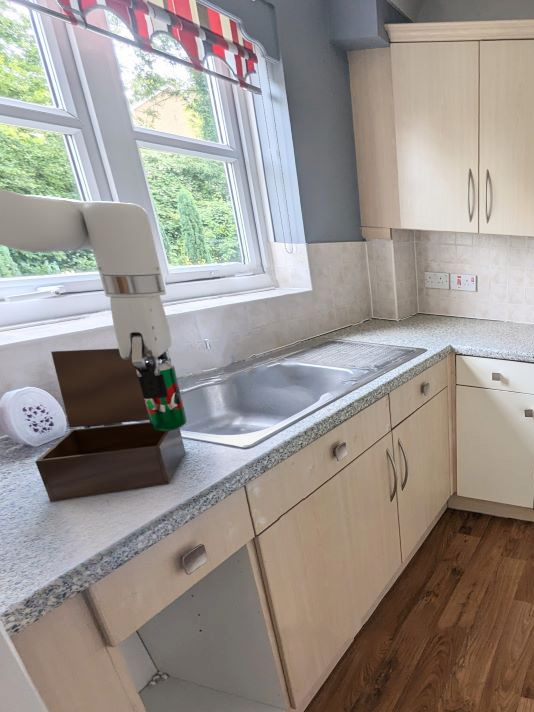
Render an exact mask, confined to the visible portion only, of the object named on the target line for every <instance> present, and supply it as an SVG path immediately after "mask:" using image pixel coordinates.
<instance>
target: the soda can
mask: <svg viewBox="0 0 534 712" xmlns="http://www.w3.org/2000/svg"><path fill="white" fill-rule="evenodd" d="M158 361H159V368H160V374H163V376H164V380H165V384H166V388H167V392H168V396H167V397H165V398H153V399H145V398H144V401H145V405H146V409H147V412H148V416H149V420H148V421H149V422H150V424H151V427H152V428H153V429H154V430H157V431H171V430H176V429H179V428H180V429H181V428H183V427H184V426H185V425H186V424H187V422H188V419H187V415H186V411H185V406H184V402H183V398H182V393H181V390H180V389H181V388H180V386H179V382H178V377H177V373H176V369H175V365H173V363H172V362H171V363H170V360H166V359H158ZM146 362H150V364H152V366H153V363H152V361H146ZM138 379H139V378H138ZM140 386H141V385H140ZM141 390H142V389H141ZM142 394H143V393H142Z"/></svg>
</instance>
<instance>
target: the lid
mask: <svg viewBox="0 0 534 712" xmlns="http://www.w3.org/2000/svg"><path fill="white" fill-rule="evenodd" d="M50 353H51V357H52V361H53V366H54V369H55V370H54V371H55V374H56V377H57V382H58V385H59V390H60V395H61V398H62V402H63V406H64V410H65V411H64V412H65V414H66V418H67V423H68V427H69V429H74V428H84V426H94V425H104V424H114V423H122V424H123V423H124V424H125V423H132V422H134V423H135V422H143V421H144V422H145V421H150V420H149V416H148V412H147V409H146V405H145V401H144V397H143V394H142V390H141V386H140V382H139V379H138V376H137V371H136V368H135V366H134V365H133V363H132V357H131V358H130V359H127V360H125V359H123V358H122V357H121V356H120V352H119V347H116V348H115V347H114V348H93V349H90V348H89V349H73V350H53V351H50ZM145 357H148V356H147V353H145Z"/></svg>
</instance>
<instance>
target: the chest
mask: <svg viewBox="0 0 534 712" xmlns="http://www.w3.org/2000/svg"><path fill="white" fill-rule="evenodd" d="M185 455H186V448H185V445H184V441H183V436H182V432H181V428H179V429H176V430H171V431H157V430H154V429H153V428H152V427H151V424H150V421H144V422H143V421H141V422H134V423H132V422H131V423H124V424H123V423H122V425H112V426H102V427H93V428H84V427H82V428H75V429H74V428H72V429H70V430H69V431H68V432H66V434H65V435H63V436H62V437H61V438H60V439H59V440H58V441H56V442H55V443H54V444H53V445H52V446H51V447H50V448H49V449H48V450H46V451H45V452H44V453H43V454H42V455H41V456H40V457H38V458H37V459H36V460H35V461H34V462H35V465H36V467H37V470H38V472H39V476H40V479H41V481H42V484H43V486H44V489H45V492H46V494H47V497H48V499H49V502H57V501H64V500H71V499H77V498H84V497H85V498H86V497H90V496H91V497H92V496H99V495H104V494H110V493H112V494H113V493H117V492H125V491H131V490H138V489H145V488H152V487H157V486H165V485H169V484H171V481H172V479H173V477H174V476H175V473H176V472H177V470H178V468H179V466H180V464H181V462H182V461H183V459H184V456H185Z"/></svg>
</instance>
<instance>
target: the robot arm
mask: <svg viewBox="0 0 534 712" xmlns="http://www.w3.org/2000/svg"><path fill="white" fill-rule="evenodd" d="M152 230H153V229H152V225H151V222H150V218H149V214H148V213H147V210H146V209H145V208H144V207H143V206H141V205H139V204H137V203H130V202H121V201H120V202H119V201H98V200H95V201H83V200H77V199H71V198H64V197H54V196H46V195H35V194H22V193H18V192H14V191H12V190H8V189H5V188H2V187H0V246H3V247H7V248H10V249H14V250H19V251H22V252H29V253H50V252H51V253H52V252H70V251H84V250H92V251H93V256H94V260H95V263H96V266H97V270H98V273H99V277H100V280H101V284H102V288H103V291H104V296H105V297H108V298H109V300H110V302H109V303H110V311H111V318H112V324H113V329H114V333H115V338H116V343H117V348H119V352H120V356H121V357H122V358H123V359H125V360H127V359H130V358H131V357H132V363H133V365H134V366H135V368H136V371H137V376H138V378H139V382H140V385H141V389H142V393H143V397H144V398H145V399H153V398H165V397H167V396H168V392H167V388H166V384H165V380H164V376H163V374H160V368H159V361H158V359H166V360H170V363H171V364H172V359H171V356H170V353H169V349H170V347H171V346H172V336H171V331H170V327H169V323H168V318H167V314H166V312H165V307H164V303H163V302H162V299H161V296H165V295H166V294H167V291H166V288H165V283H164V279H163V274H162V269H161V266H160V261H159V257H158V253H157V252H158V251H157V248H156V244H155V240H154V239H155V238H154V235H153V231H152ZM145 353H147V356H148V357H145ZM146 361H152V363H153V366H152V364H150V362H146Z"/></svg>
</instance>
